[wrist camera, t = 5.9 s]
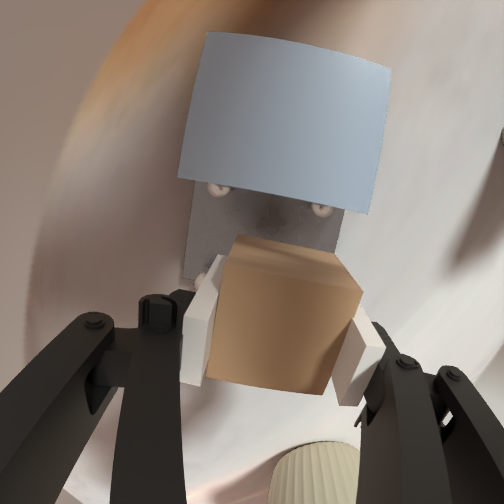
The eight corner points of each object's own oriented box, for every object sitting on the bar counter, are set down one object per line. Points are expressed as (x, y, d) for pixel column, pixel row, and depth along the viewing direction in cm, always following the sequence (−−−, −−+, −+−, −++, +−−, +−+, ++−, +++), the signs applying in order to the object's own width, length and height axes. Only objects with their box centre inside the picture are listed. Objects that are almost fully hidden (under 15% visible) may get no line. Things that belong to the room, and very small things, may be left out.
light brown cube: (221, 320, 16) (205, 377, 11) (237, 233, 15) (224, 264, 10) (308, 336, 16) (322, 395, 12) (334, 253, 15) (363, 291, 10)
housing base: (221, 65, 23) (213, 47, 19) (361, 93, 23) (377, 81, 19) (186, 272, 29) (173, 290, 24) (317, 297, 29) (325, 318, 24)
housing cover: (223, 64, 22) (207, 31, 15) (361, 92, 22) (391, 68, 15) (201, 175, 24) (176, 177, 18) (341, 202, 24) (367, 214, 18)
